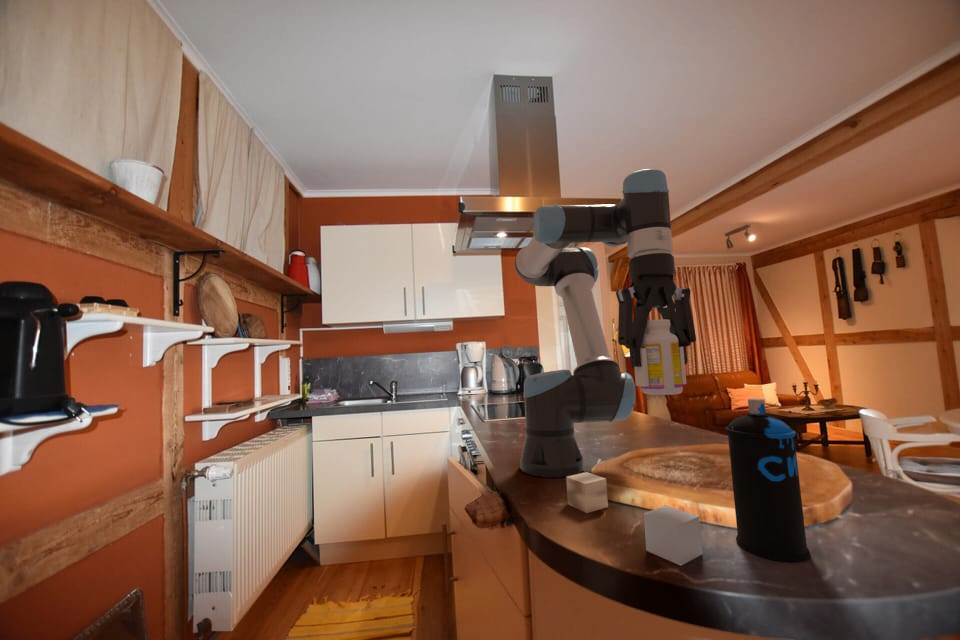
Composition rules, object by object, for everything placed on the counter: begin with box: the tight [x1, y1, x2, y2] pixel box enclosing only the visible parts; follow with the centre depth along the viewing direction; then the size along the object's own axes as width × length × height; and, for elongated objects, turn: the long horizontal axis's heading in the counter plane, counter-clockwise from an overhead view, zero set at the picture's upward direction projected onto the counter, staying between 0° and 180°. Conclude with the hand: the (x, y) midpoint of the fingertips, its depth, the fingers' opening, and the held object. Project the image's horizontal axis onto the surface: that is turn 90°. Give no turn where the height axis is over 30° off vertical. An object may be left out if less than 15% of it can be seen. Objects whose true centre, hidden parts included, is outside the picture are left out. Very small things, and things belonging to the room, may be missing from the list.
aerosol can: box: [724, 398, 811, 563], centre depth 55 cm, size 8×8×20 cm
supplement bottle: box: [640, 318, 684, 396], centre depth 70 cm, size 7×7×13 cm
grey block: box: [643, 505, 703, 566], centre depth 54 cm, size 5×5×5 cm
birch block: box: [565, 471, 609, 514], centre depth 72 cm, size 5×5×5 cm
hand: (660, 384), depth 70 cm, fingers closed on supplement bottle, 7 cm apart
